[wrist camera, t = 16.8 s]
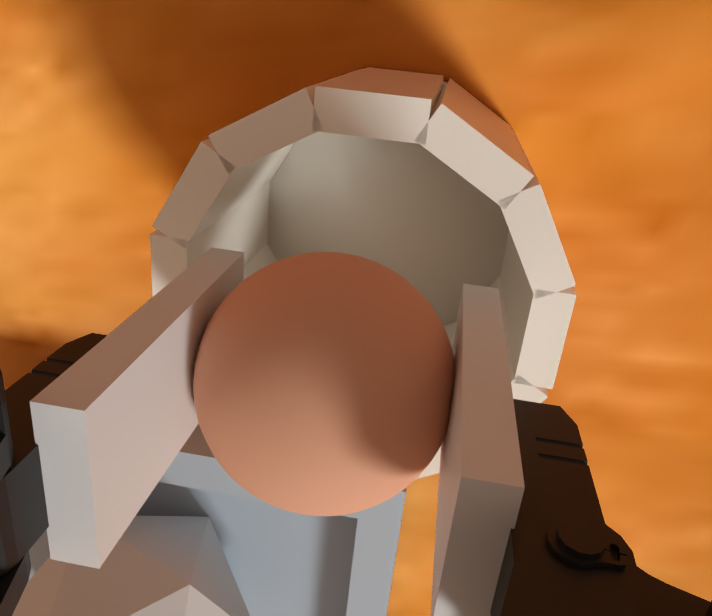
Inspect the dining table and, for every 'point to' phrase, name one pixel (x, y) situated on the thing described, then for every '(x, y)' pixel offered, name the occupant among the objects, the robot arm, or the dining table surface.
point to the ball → (324, 383)
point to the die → (142, 576)
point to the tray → (279, 542)
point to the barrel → (384, 204)
